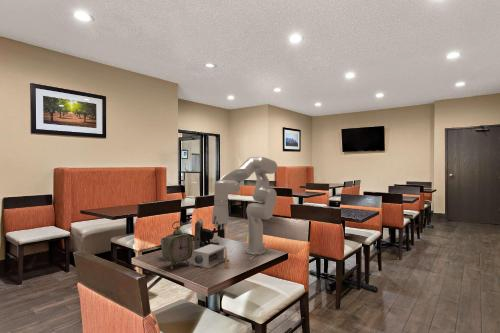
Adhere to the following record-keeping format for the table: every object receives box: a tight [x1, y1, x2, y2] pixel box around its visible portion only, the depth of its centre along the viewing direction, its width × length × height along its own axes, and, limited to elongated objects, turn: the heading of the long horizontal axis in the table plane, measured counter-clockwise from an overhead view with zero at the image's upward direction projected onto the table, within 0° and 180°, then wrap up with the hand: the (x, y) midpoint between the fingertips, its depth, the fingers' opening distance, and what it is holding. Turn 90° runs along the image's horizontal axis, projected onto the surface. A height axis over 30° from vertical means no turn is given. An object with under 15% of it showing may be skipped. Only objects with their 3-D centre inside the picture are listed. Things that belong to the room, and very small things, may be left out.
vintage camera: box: [193, 219, 220, 251], centre depth 194 cm, size 10×16×20 cm, turn 89°
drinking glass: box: [160, 237, 166, 261], centre depth 177 cm, size 10×10×12 cm
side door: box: [224, 247, 230, 269], centre depth 166 cm, size 15×2×7 cm, turn 5°
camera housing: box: [192, 244, 227, 269], centre depth 169 cm, size 18×11×8 cm, turn 150°
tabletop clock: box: [163, 220, 194, 271], centre depth 163 cm, size 14×9×25 cm, turn 139°
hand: (220, 236), depth 163 cm, fingers closed
